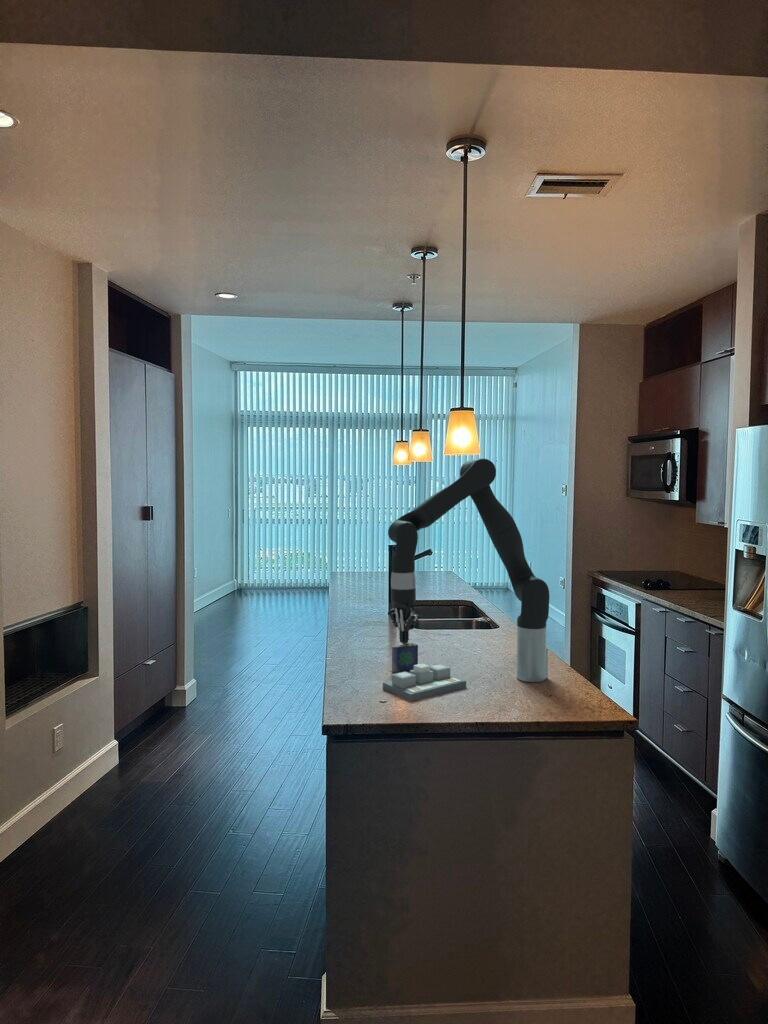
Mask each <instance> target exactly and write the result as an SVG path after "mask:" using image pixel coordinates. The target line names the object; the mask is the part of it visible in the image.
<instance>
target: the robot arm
mask: <svg viewBox="0 0 768 1024" xmlns="http://www.w3.org/2000/svg"><path fill="white" fill-rule="evenodd" d="M496 476H497V468H496V465H495V464H494V463H493V461H491V460H490V459H488V458H484V457H483V458H482V457H481V458H475V459H474V458H473V459H470V460H467V461H465V462H464V463H462V465H461V467H460V469H459V478H458V479H456V480H455V481H454V482H453V483H450V484H449V485H448V486H445V487H444V488H443V489H441V490H439V491H437V492H436V493H434V494H432V495H431V496H429V497H428V498H427V499H425V500H424V501H422V502H421V503H420V504H418V506H416V507H415V508H414V509H412V510H411V511H408V512H406V513H405V514H403V515H402V516H400V517H399V518H397V519H395V520H394V521H393V522H392V523H391V524H390V526H389V527H388V530H387V535H388V538H389V540H391V541H392V542H393V543H395V544H396V545H395V552H394V553H392V555H391V574H390V575H391V576H390V600H391V602H392V603H393V604H392V605H393V606H392V608H391V609H389V610H388V614H389V617H390V619H391V621H392V623H393V625H394V628H397V629H398V631H399V643H401V644H402V643H409V640H410V639H409V636H410V633H409V631H410V630H414V628H415V626H416V625H417V623H418V621H419V619H420V615H419V614H416V613H415V608H414V607H415V606H414V603H415V602H416V601H417V595H416V593H417V592H416V591H417V589H416V588H417V586H416V583H417V581H416V580H417V578H416V571H415V570H416V569H415V556H416V552H417V546H418V539H419V535H418V531H420V530H422V529H426V528H429V527H430V526H431V525H433V524H434V523H435V522H437V521H438V520H439V519H440V518H442V517H443V516H444V515H446V514H447V513H448V512H449V511H450V510H452V509H453V508H454V507H455V506H457V505H458V504H460V503H461V502H462V501H463V500H465V499H466V498H469V496H470V499H472V502H473V503H474V505H475V508H476V509H477V511H478V514H479V516H480V518H481V521H482V522H483V524H484V526H485V529H486V531H487V534H488V536H489V539H490V540H491V542H492V544H493V547H494V548H495V550H496V552H497V554H498V556H499V558H500V560H501V562H502V563H503V565H504V567H505V569H506V573H507V574H508V579H509V580H510V583H511V587H512V589H513V592H514V594H515V596H516V598H517V599H518V601H520V602H521V605H520V606H521V609H520V614H519V615H518V616H517V620H516V678H517V680H520V681H521V682H526V683H527V682H528V683H541V682H544V681H546V679H548V678H549V676H548V674H549V670H548V669H549V668H548V667H549V661H548V660H549V649H548V648H547V621H548V619H549V616H550V615H549V613H550V612H549V611H550V590H549V586H548V583H546V581H544V580H543V579H541V578H539V577H536V576H535V574H534V572H533V571H532V569H531V567H530V565H529V563H528V561H527V559H526V556H525V549H524V543H523V539H522V535H521V533H520V530H519V528H518V525H517V524H516V521H515V519H514V518H513V516H512V515H511V513H510V512H509V511H508V510H507V509H506V508H505V507H504V506H503V505H502V503H501V502H500V501H499V500H498V499H497V497H496V496H495V494H494V492H493V490H492V487H491V484H493V482H494V480H495V478H496Z"/></svg>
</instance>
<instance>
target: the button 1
mask: <svg viewBox="0 0 768 1024" xmlns="http://www.w3.org/2000/svg"><path fill="white" fill-rule="evenodd" d="M408 673H409V672H408ZM408 673H406V672H404V673H400V672H399V674H396V673H395V674H396V675H397V676H399V677H402V678H404V677H409V676H412V675H411V674H408Z"/></svg>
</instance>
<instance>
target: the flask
mask: <svg viewBox="0 0 768 1024" xmlns="http://www.w3.org/2000/svg"><path fill="white" fill-rule="evenodd" d="M418 656H419V645H418V644H417V643H414V642H408V643H401V644H395V645H392V647H391V671H392V673H393V674H396V673H401V672H408V673H410V670H414V665H417V664H419V657H418Z"/></svg>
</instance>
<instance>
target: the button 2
mask: <svg viewBox="0 0 768 1024" xmlns="http://www.w3.org/2000/svg"><path fill="white" fill-rule="evenodd" d="M435 665H436V666H433V665H430V666H431V668H434V669H437V670H440V669H444V668H447V667H448V666H447V667H445V666H446V665H444V666H442V665H443V664H441V665H437V664H435Z"/></svg>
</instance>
